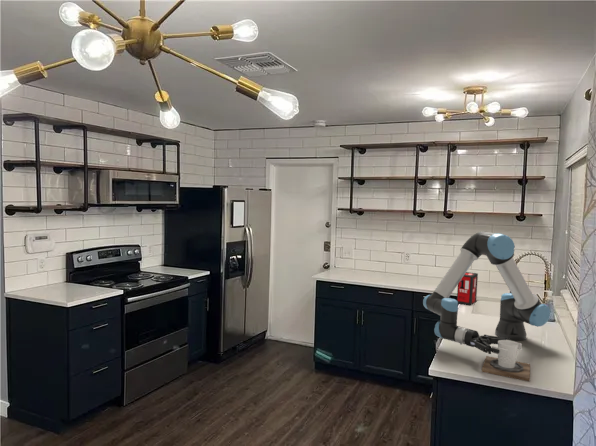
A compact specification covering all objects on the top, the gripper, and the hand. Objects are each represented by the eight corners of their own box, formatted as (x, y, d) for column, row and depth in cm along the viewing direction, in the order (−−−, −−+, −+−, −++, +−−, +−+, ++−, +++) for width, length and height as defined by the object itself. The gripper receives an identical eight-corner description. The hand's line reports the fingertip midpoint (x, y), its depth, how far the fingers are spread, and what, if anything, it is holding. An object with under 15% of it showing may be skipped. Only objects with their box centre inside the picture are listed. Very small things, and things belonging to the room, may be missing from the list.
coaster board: (486, 358, 205) (486, 354, 205) (530, 366, 197) (530, 362, 197) (481, 371, 189) (482, 367, 189) (529, 381, 181) (529, 376, 181)
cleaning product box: (470, 305, 303) (471, 276, 301) (456, 303, 308) (458, 274, 306) (476, 301, 316) (477, 273, 315) (463, 299, 321) (464, 271, 320)
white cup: (510, 362, 197) (512, 340, 196) (520, 369, 189) (521, 346, 188) (493, 361, 197) (494, 339, 196) (501, 368, 189) (503, 345, 188)
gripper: (479, 339, 215) (525, 352, 199) (453, 350, 198) (501, 365, 182) (480, 324, 214) (526, 335, 198) (454, 334, 197) (502, 347, 182)
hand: (514, 350), depth 190 cm, fingers open, 13 cm apart
